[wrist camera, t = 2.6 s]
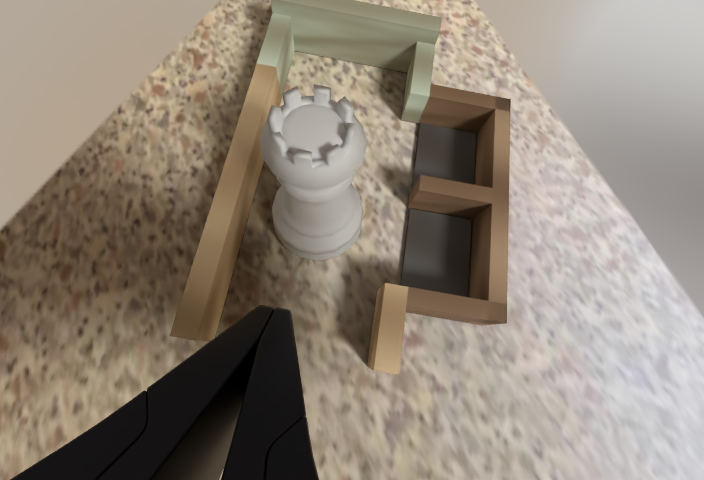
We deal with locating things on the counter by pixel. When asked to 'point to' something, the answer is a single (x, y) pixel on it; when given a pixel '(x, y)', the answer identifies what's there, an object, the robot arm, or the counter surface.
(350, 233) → the rook chess piece
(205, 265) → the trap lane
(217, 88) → the counter surface
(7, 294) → the counter surface
